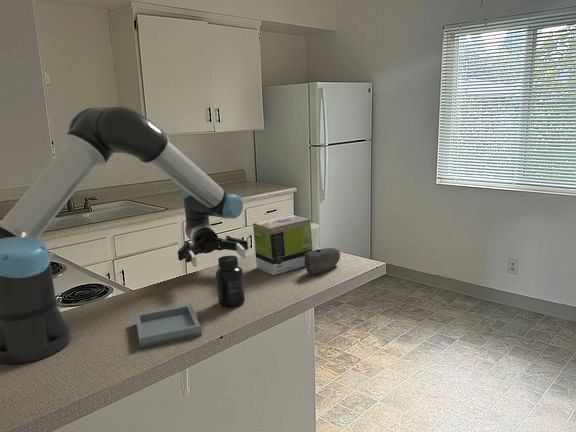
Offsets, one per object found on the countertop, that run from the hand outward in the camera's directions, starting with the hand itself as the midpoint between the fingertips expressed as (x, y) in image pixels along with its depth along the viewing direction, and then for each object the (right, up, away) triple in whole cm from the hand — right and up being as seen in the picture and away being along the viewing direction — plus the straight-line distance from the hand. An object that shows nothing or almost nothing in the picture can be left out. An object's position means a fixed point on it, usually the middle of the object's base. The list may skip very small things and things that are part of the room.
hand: (219, 257), depth 129 cm
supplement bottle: (+4, -11, -8) cm, 14 cm away
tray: (-9, -14, -21) cm, 27 cm away
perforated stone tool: (+29, -5, +13) cm, 32 cm away
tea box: (+17, -4, +18) cm, 25 cm away
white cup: (+25, -2, +28) cm, 38 cm away
